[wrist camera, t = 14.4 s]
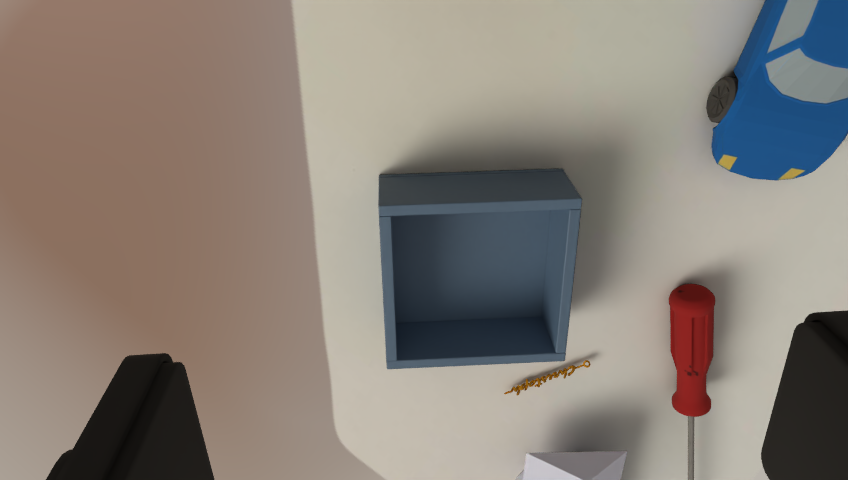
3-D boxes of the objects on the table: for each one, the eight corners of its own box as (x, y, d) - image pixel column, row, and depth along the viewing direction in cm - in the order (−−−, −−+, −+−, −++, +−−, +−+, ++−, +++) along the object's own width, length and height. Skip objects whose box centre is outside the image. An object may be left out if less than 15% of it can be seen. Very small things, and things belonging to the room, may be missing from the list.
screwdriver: (665, 493, 66) (679, 522, 63) (661, 284, 54) (678, 308, 51) (701, 486, 66) (716, 516, 62) (704, 276, 54) (724, 300, 51)
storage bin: (378, 174, 48) (378, 205, 43) (562, 168, 49) (582, 198, 44) (386, 327, 54) (386, 369, 50) (549, 320, 55) (565, 361, 50)
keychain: (586, 355, 57) (589, 362, 56) (590, 363, 57) (593, 371, 56) (501, 386, 58) (503, 393, 57) (505, 394, 58) (507, 401, 57)
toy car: (680, 156, 49) (709, 182, 44) (810, -158, 40) (863, -165, 35) (793, 178, 50) (833, 205, 46) (944, -120, 41) (1012, -122, 37)
